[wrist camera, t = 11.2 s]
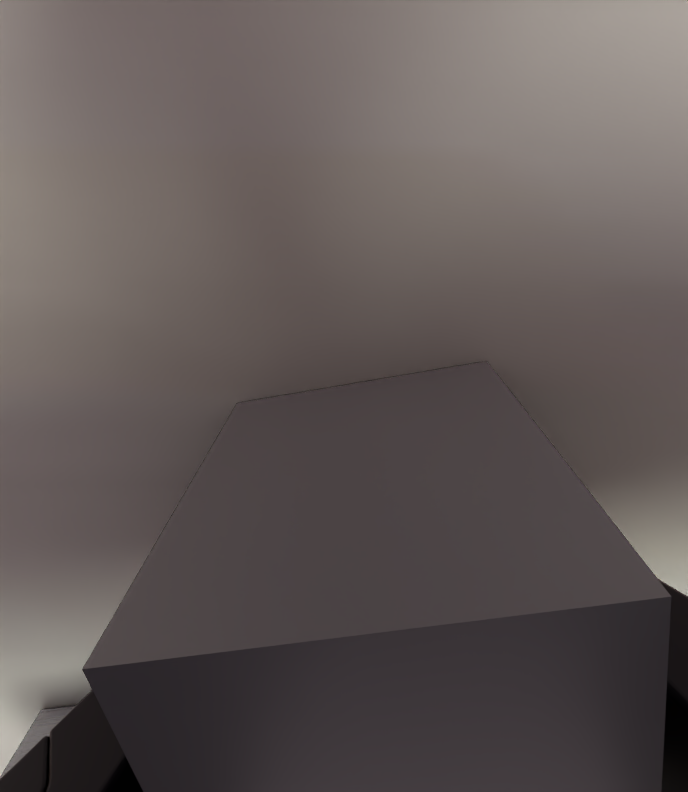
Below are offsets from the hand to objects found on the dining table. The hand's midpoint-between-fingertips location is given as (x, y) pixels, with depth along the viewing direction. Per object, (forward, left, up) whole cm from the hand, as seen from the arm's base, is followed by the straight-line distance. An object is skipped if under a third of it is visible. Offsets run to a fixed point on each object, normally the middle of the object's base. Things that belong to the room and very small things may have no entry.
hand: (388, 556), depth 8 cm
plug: (-2, 0, -1) cm, 3 cm away
